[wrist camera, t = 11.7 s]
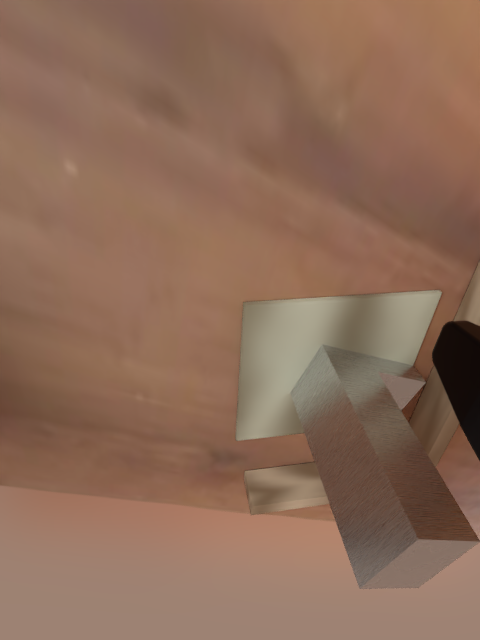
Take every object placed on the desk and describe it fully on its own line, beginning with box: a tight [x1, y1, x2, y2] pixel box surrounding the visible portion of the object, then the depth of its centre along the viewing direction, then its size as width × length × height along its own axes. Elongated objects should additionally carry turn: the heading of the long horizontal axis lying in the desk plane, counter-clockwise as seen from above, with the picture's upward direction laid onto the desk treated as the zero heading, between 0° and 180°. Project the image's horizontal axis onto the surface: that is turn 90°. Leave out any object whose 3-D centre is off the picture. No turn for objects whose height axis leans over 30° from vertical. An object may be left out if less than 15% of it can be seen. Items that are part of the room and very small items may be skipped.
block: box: [290, 344, 480, 589], centre depth 24 cm, size 8×4×12 cm, turn 68°
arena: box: [235, 261, 480, 515], centre depth 27 cm, size 15×23×3 cm
